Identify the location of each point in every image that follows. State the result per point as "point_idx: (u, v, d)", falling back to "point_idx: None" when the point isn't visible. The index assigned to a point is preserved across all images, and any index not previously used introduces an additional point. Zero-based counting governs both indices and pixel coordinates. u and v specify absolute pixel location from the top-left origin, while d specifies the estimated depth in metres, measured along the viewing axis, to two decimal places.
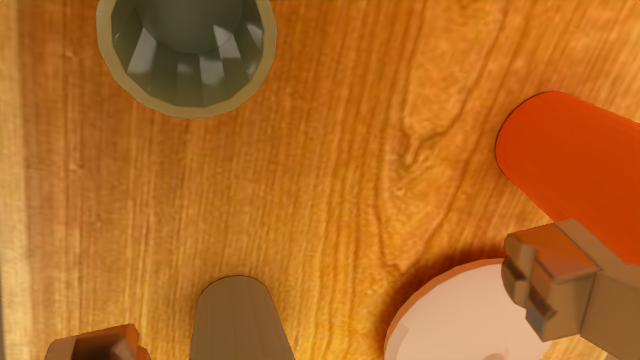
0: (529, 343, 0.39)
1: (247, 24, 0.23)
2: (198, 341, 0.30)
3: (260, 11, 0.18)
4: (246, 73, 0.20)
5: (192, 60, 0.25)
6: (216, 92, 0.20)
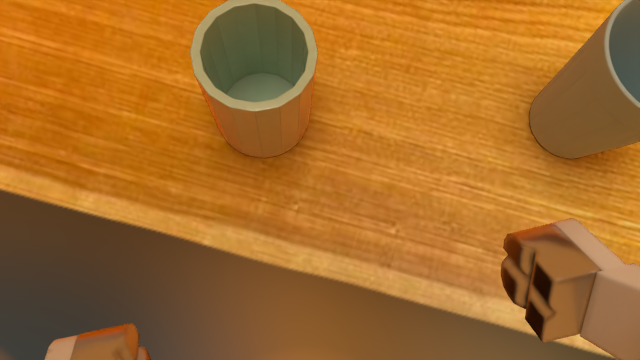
0: None
1: (274, 55, 0.31)
2: (580, 129, 0.29)
3: (241, 4, 0.25)
4: (291, 29, 0.27)
5: None
6: (304, 53, 0.26)
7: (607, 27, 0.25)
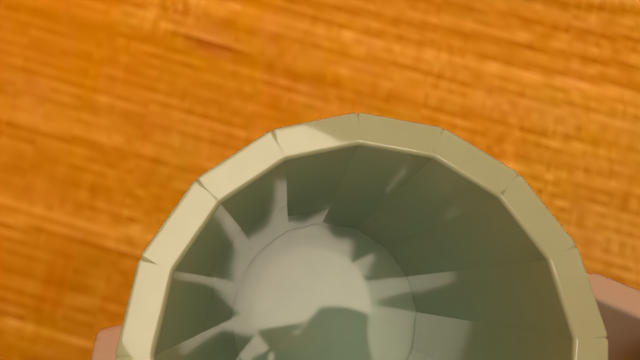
0: None
1: (364, 214, 0.12)
2: None
3: (312, 149, 0.07)
4: (469, 211, 0.08)
5: (427, 328, 0.13)
6: (516, 294, 0.08)
7: None
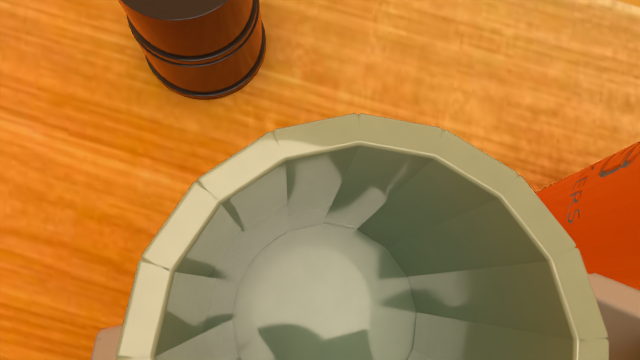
0: None
1: (365, 214, 0.12)
2: None
3: (313, 150, 0.07)
4: (470, 212, 0.08)
5: (428, 328, 0.13)
6: (516, 294, 0.08)
7: None
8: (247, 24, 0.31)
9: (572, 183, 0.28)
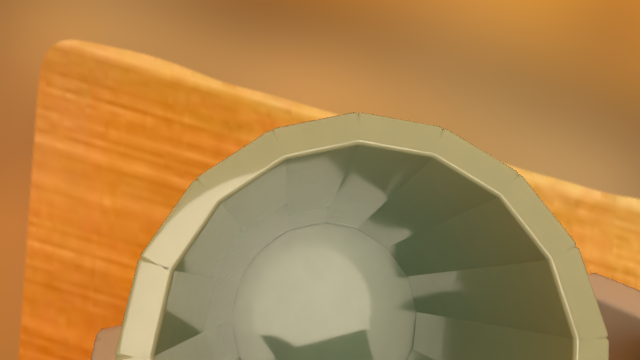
0: None
1: (365, 214, 0.12)
2: None
3: (312, 149, 0.07)
4: (469, 211, 0.08)
5: (428, 328, 0.13)
6: (516, 293, 0.08)
7: None
8: None
9: None
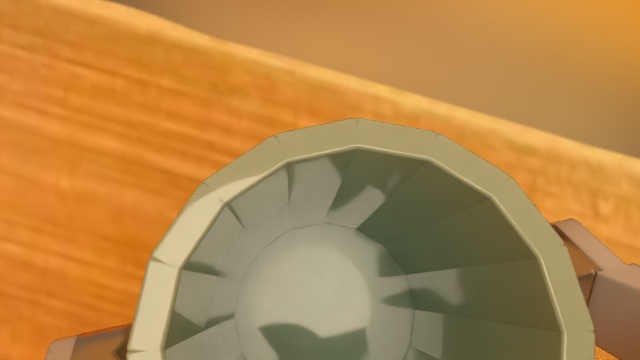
0: None
1: (364, 214, 0.13)
2: None
3: (313, 154, 0.07)
4: (464, 212, 0.08)
5: (425, 325, 0.13)
6: (508, 290, 0.08)
7: None
8: None
9: None
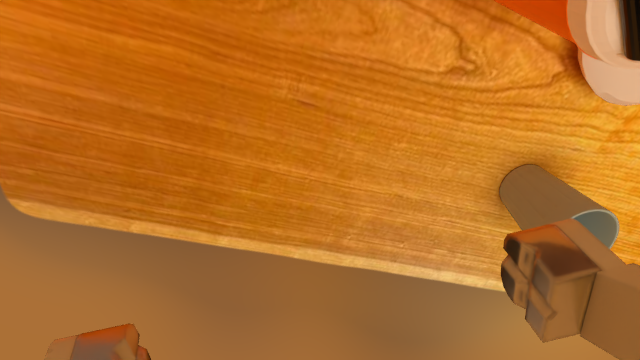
0: None
1: None
2: None
3: None
4: None
5: None
6: None
7: None
8: None
9: None
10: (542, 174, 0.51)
